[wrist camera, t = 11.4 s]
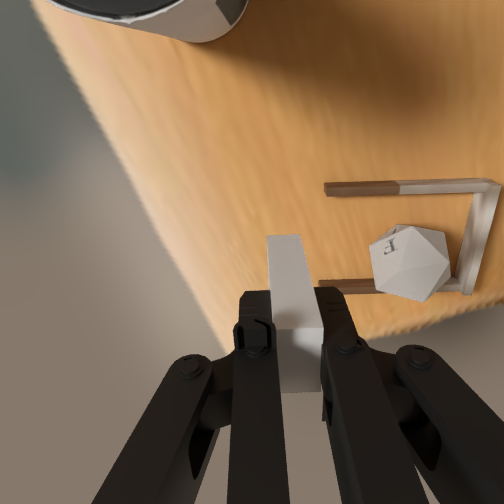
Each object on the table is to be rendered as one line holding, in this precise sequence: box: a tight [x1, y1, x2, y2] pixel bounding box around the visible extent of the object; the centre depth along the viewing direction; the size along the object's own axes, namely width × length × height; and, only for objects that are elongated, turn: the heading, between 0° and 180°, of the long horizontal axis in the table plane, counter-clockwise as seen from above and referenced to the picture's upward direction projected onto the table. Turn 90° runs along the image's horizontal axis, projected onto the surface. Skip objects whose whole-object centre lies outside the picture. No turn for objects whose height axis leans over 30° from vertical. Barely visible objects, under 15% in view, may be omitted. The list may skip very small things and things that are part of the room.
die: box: [369, 224, 451, 303], centre depth 44 cm, size 8×9×10 cm
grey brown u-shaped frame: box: [318, 178, 502, 295], centre depth 45 cm, size 14×18×3 cm
